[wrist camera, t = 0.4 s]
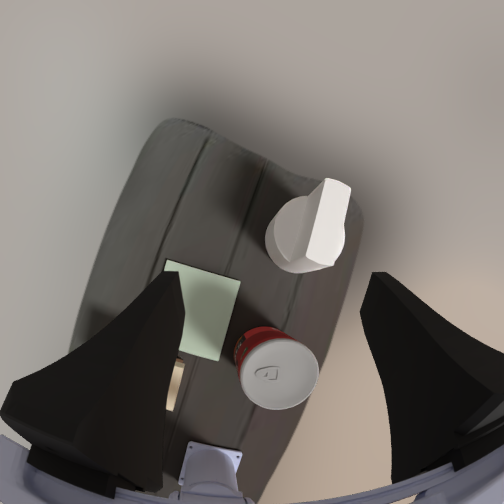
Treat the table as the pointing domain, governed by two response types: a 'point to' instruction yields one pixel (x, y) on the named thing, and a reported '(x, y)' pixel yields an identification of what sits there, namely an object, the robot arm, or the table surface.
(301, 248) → the cylinder with rectangular tab
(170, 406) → the beige block
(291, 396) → the canned food
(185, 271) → the mat
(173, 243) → the table surface
